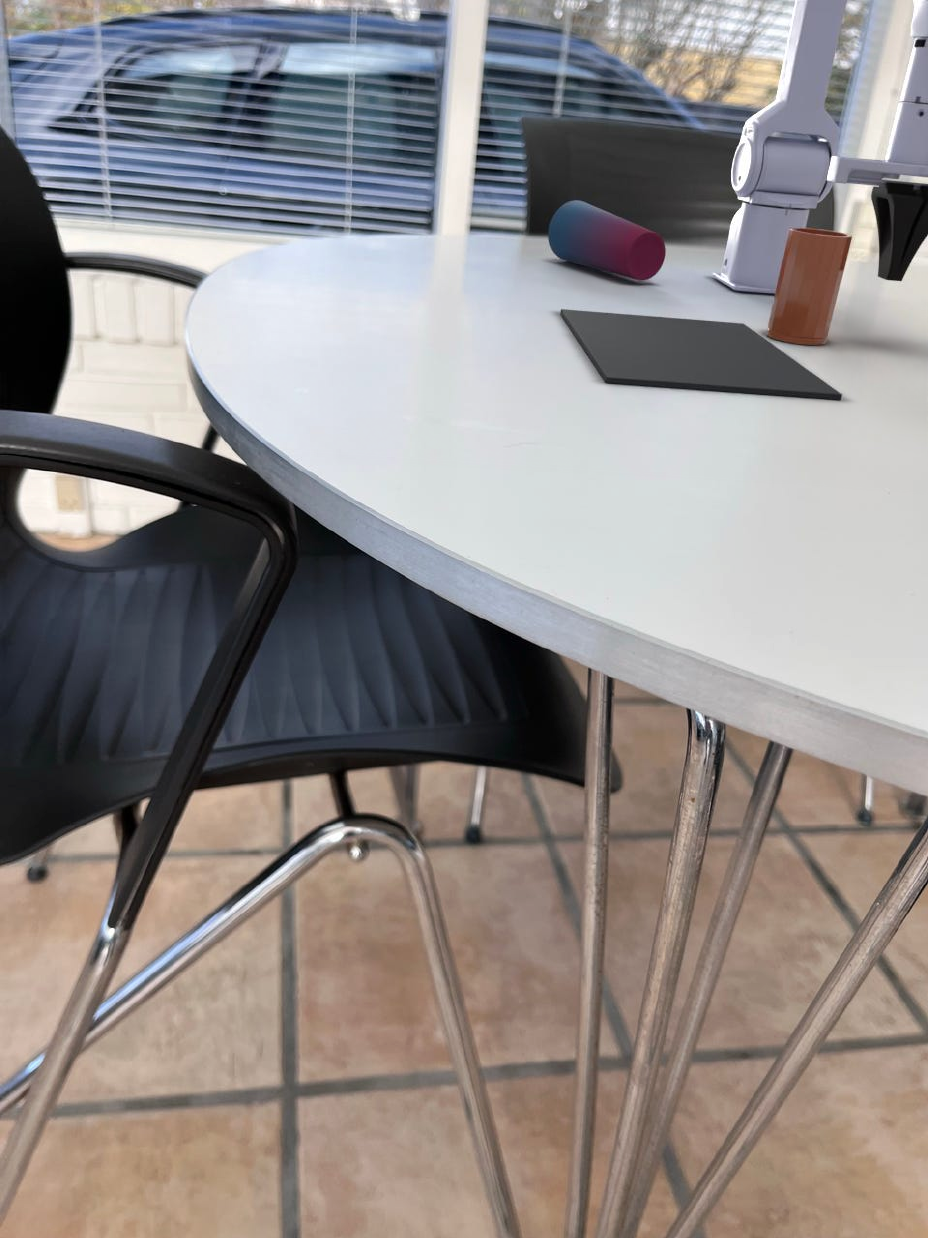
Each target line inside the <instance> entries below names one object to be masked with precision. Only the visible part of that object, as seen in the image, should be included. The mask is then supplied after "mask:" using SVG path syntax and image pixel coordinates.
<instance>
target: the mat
mask: <svg viewBox="0 0 928 1238" xmlns="http://www.w3.org/2000/svg"><path fill="white" fill-rule="evenodd" d="M559 313H560V315H561V316H562V319H563V320H564V322H565V323H566V324H567V326H568V327H569V329H570V331H571V332H572V333H573V335H574V336H575V338H576V339H577V341H578V342H579V344H580V345H581V347H582V348H583V351H584V352H585V353H586V355H587V356H588V358H589V359H590V360H591V362H592V364H593V365H594V366H595V368H596V369H597V371H598V373H599V374H600V375H601V377H602V378H603V380H604V381H605V383H606V384H620V385H633V386H646V387H658V388H660V387H661V388H673V389H685V390H687V389H688V390H701V391H715V392H727V393H728V392H730V393H741V394H756V395H770V396H782V397H784V396H785V397H796V398H797V397H799V398H808V399H809V398H812V399H822V400H823V399H826V400H838V401H841V400H842V397H843V393H841V392H839V391H838V390H837V389H835V388H834V387H832V386H831V385H830V384H828V383H827V382H826V381H824V380H823V379H821V378H820V377H818V376H817V375H816V374H814V373H813V372H812V371H811V370H809V369H808V368H806V367H805V366H803V365H802V364H801V363H799V362H798V361H796V360H795V359H794V358H792V357H791V356H789V355H788V354H786V353H785V352H784V351H783V350H781V349H780V348H778V347H777V346H776V345H774V344H772V342H770V341H769V340H767V339H766V338H765V337H763V336H762V335H760V334H759V333H757V331H755V330H753V329H752V328H750V327H749V326H748V325H746V324H745V323H741V322H731V321H730V322H728V321H716V320H704V319H691V318H679V317H667V316H655V315H653V316H652V315H642V314H641V315H639V314H629V313H615V312H614V313H613V312H602V311H592V310H591V311H589V310H576V309H565V308H560V312H559Z"/></svg>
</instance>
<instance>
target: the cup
mask: <svg viewBox="0 0 928 1238" xmlns="http://www.w3.org/2000/svg"><path fill="white" fill-rule="evenodd" d="M547 239H548V245H549V247H550V249H551V251H552V253H553V254H554V255H555V256H556V257H557V258H559V259H560V260H562V261H566V262H568V263H573V264H577V265H580V266H584V267H588V268H592V269H596V270H598V271H599V270H600V271H603V272H607V273H610V274H614V275H619V276H623V277H625V278H629V279H634V280H637V281H647V280H650V279H652V278H653V277H655V276H656V275H657V274H658V273H659V271H661V269H662V267H663V265H664V263H665V260H666V251H667V248H666V245H665V241H664V239H663V237H662V236H661V235H660V234H658V233H657V232H655V231H652V230H650V229H647V228H645V227H643V226H641V225H638V224H636V223H633V222H632V221H629V220H627V219H625V218H623V217H620V216H619V215H618V216H617V215H616V214H613V213H611V212H609V211H606V210H604V209H601V208H599V207H597V206H594V205H592V204H590V203H588V202H585V201H583V200H576V199H575V200H570V201H567V202H565V203H564V204H563V205H561V206H560V207H559V208H558V209H557V210H556V211H555V213H554V214H553V216H552V218H551V220H550V222H549V226H548V232H547Z"/></svg>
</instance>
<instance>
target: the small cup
mask: <svg viewBox="0 0 928 1238" xmlns="http://www.w3.org/2000/svg"><path fill="white" fill-rule="evenodd" d="M852 238H853V235H852V234H849V233H845V232H840V231H835V230H828V229H819V228H811V227H806V228H790V229H789V233H788V237H787V242H786V246H785V251H784V255H783V260H782V265H781V269H780V274H779V278H778V283H777V287H776V292H775V294H774V297H773V301H772V306H771V311H770V315H769V320H768V325H767V330H766V336H767V337H769V338H770V339H774V340H776V341H779V342H784V343H787V344H788V343H789V344H796V345H801V346H802V345H803V346H822V345H825V344H826V343H827V339H828V336H829V332H830V328H831V324H832V321H833V316H834V312H835V307H836V304H837V300H838V296H839V291H840V289H841V288H840V287H841V284H842V281H843V275H844V272H845V267H846V265H847V264H846V263H847V261H848V255H849V252H850V247H851V244H852Z"/></svg>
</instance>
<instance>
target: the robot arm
mask: <svg viewBox="0 0 928 1238" xmlns="http://www.w3.org/2000/svg"><path fill="white" fill-rule="evenodd" d="M847 2H848V0H795V2H794V7H793V12H792V17H791V22H790V26H789V27H790V28H789V32H788V37H787V42H786V48H785V53H784V58H783V62H782V66H781V67H782V68H781V73H780V78H779V81H778V82H779V83H778V87H777V93H776V97H775V100H774V101H773V102H772V103H770V104H769V105H767V106H766V107H764V108H763V109H761V110H759V111H758V112H757V113H755V114H753V115H752V116H751V117H749V118H748V119H747V120H745V124H744V126H743V129H742V133H741V137H740V141H739V143H738V146H737V147H736V150H735V153H734V156H733V160H732V165H731V172H730V173H731V175H730V176H731V177H730V178H731V186H732V188H733V190H734V192H735V194H736V196H737V200H740V201H742V203H741V207H740V208H739V209H738V210H737V211H736V213H735V214H734V216H733V217H732V220H731V222H730V225H729V231H728V237H727V241H726V247H725V250H724V251H725V252H724V257H723V262H722V267H721V272H713V273H712V277H713V278H714V279H716V280H718V281H719V282H721V283H722V284H724V285H726V286H727V287H729V288H730V289H732V290H734V291H737V292H749V293H762V294H773V295H775V292H776V287H777V283H778V278H779V274H780V269H781V265H782V260H783V255H784V251H785V246H786V242H787V237H788V233H789V229H790V228H807V223H808V219H809V215H810V209H814V210H815V209H817V206H818V204H820V202H822V201H823V200H824V199H825V198H826V196H827V195H828V194H829V193H830V191H831V190H832V188H833V185H834V184H845V185H847V184H853V185H861V186H863V185H864V186H872V189H871V194H870V200H871V204H872V207H873V211H874V215H875V220H876V221H875V222H876V227H877V235H878V268H877V269H878V270H877V277H878V278H880V279H883V280H886V281H890V282H891V281H893V282H902V281H903V279H904V277H905V275H906V273H907V271H908V269H909V267H910V265H911V263H912V261H913V260H914V258H915V256H916V254H917V253H918V251H919V249H920V248H921V246H922V245H923V243H924V242H925V240H926V238H927V237H928V183H923V182H912V181H901V180H899V179H900V177H901V176H911V177H918V178H928V0H913V7H914V8H913V14H912V15H913V16H912V21H911V23H910V24H911V25H910V29H909V30H910V37H911V38H913V39H914V41H913V44H912V45H913V46H912V49H911V54H910V57H909V62H908V66H907V70H906V72H905V73H906V74H905V76H904V77H905V78H904V80H903V81H904V82H903V85H902V89H901V92H900V97H899V102H898V105H897V109H896V112H895V117H894V121H893V125H892V129H891V133H890V137H889V141H888V144H887V149H886V152H885V157H884V160H882V159H870V158H860V157H859V158H858V157H848V156H847V157H845V156H838V150H839V141H840V134H841V130H840V127H839V125H838V124H837V123H836V122H835V120H834V119H833V118H832V117H831V115H830V114H829V113H828V111H827V110H826V108H825V104H826V98H827V94H828V88H829V84H830V80H831V76H832V70H833V67H834V62H835V57H836V53H837V47H838V44H839V43H838V42H839V40H840V39H839V38H840V35H841V29H842V25H843V20H844V16H845V12H846V7H847ZM774 133H790V134H801V135H805V136H807V137H808V138H809V139H802V138H793V137H781V136H780V137H779V136H771V135H773V134H774ZM891 179H892V180H891Z"/></svg>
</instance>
